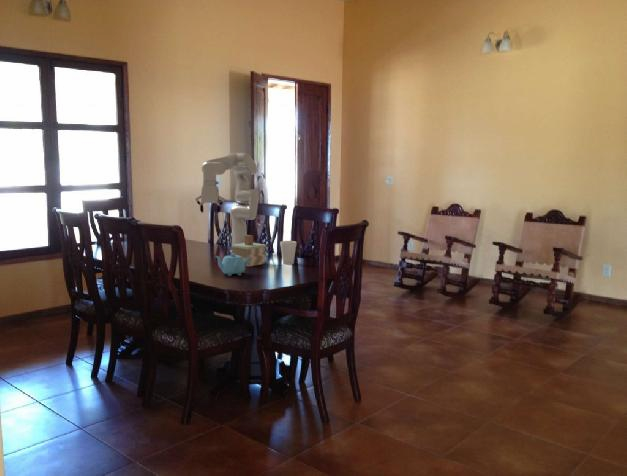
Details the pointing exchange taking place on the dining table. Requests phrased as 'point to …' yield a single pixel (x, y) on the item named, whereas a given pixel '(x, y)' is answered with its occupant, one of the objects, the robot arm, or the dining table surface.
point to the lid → (248, 243)
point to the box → (251, 255)
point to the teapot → (233, 264)
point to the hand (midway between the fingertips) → (210, 212)
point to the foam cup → (288, 251)
